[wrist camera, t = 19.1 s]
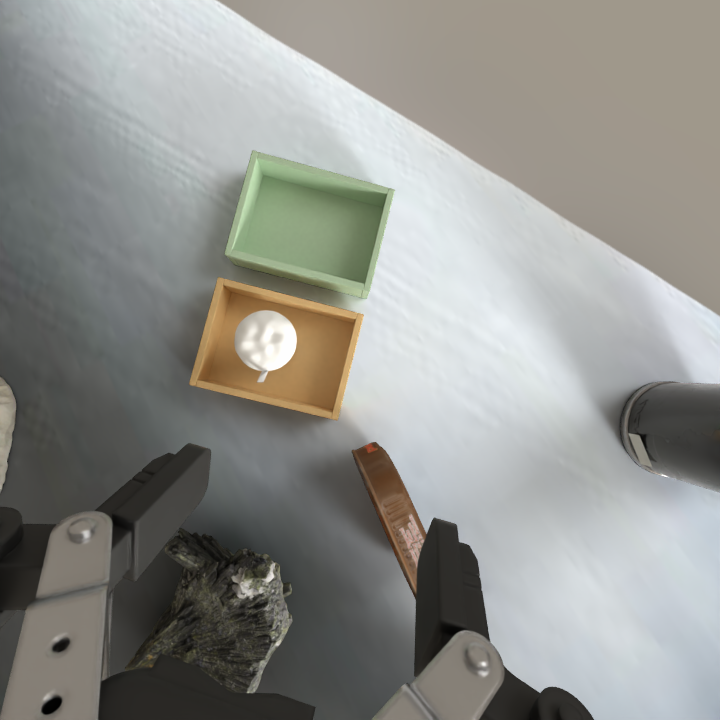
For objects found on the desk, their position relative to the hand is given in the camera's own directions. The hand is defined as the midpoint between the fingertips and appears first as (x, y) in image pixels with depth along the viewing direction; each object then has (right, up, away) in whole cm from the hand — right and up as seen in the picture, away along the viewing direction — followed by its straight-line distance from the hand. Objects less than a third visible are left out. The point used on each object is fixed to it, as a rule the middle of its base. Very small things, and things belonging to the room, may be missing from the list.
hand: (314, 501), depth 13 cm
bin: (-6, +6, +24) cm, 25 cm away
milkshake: (-6, +6, +24) cm, 25 cm away
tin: (+5, -10, +24) cm, 26 cm away
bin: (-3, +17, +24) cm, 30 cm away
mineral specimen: (-11, -17, +23) cm, 30 cm away
